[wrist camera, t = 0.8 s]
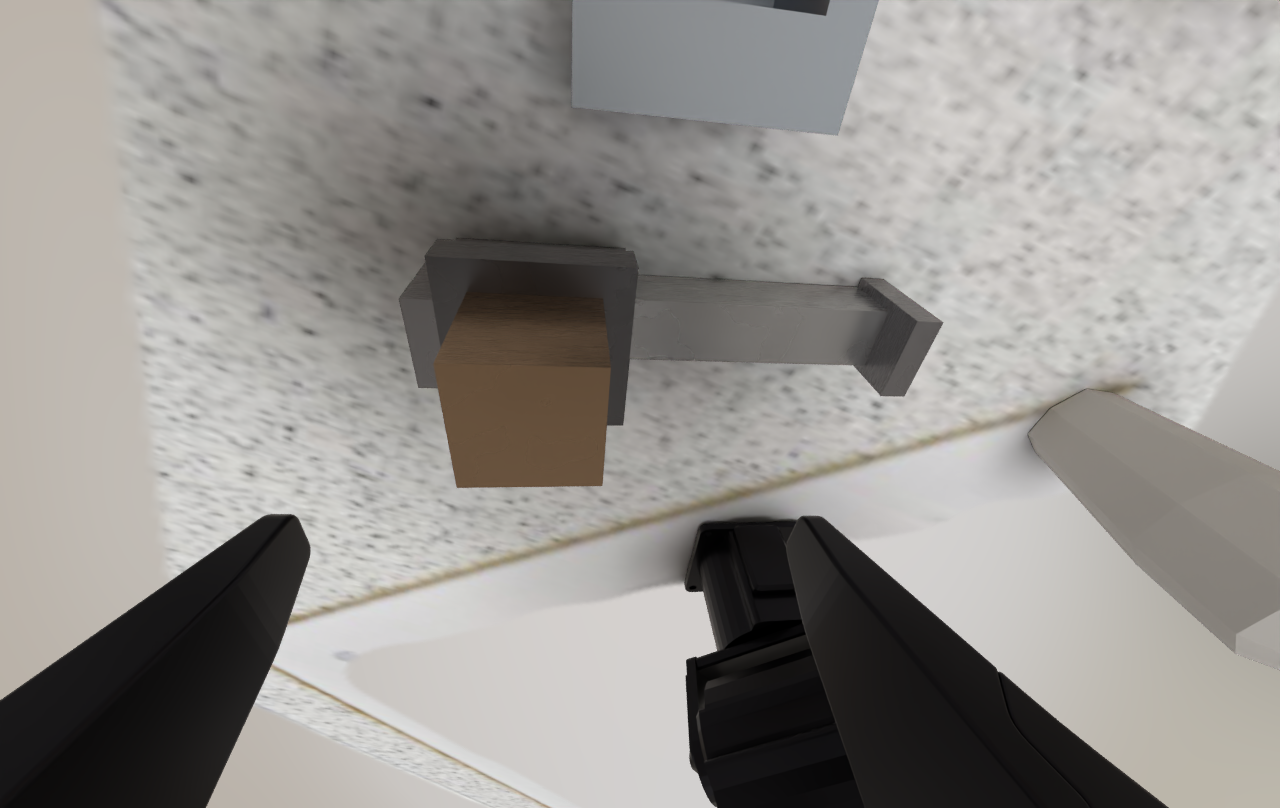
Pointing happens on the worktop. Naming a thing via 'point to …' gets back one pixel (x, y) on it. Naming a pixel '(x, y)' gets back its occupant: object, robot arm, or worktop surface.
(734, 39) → the grey hollow block
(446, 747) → the worktop surface
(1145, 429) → the low poly bottle
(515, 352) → the carriage
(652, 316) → the rail
